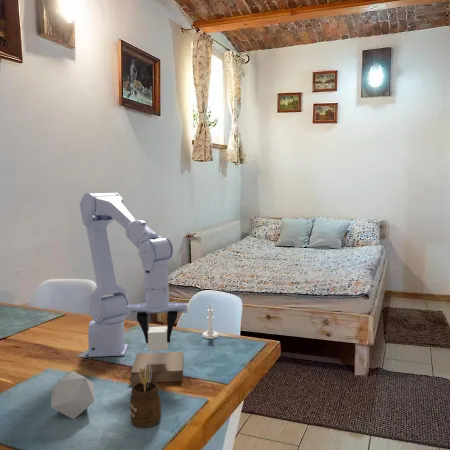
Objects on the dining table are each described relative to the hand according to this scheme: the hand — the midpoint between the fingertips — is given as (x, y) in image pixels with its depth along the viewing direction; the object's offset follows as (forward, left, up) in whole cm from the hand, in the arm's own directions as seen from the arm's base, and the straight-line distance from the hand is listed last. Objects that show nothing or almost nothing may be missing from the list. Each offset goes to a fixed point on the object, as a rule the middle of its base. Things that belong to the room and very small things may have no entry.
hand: (158, 341), depth 113 cm
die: (-16, -19, -8) cm, 26 cm away
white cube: (0, 0, -1) cm, 1 cm away
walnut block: (0, 0, -8) cm, 8 cm away
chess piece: (+14, +25, -8) cm, 30 cm away
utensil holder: (-1, -24, -8) cm, 25 cm away
